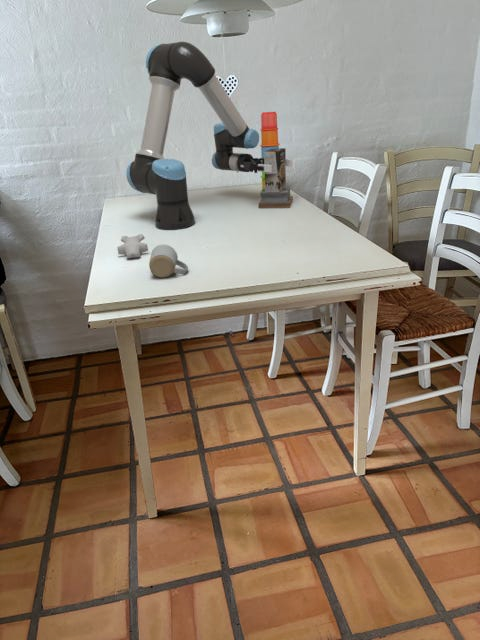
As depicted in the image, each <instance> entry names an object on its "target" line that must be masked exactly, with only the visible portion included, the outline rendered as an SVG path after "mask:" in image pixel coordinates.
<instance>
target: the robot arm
mask: <svg viewBox="0 0 480 640" xmlns="http://www.w3.org/2000/svg"><path fill="white" fill-rule="evenodd" d="M145 67H146V69H147V73H148V75H149V77H148V80H149V83H151V90H150V94H149V95H150V96H149V101H148V105H147V106H148V107H147V110H146V111H147V112H146V117H145V118H146V119H145V124H144V128H143V134H142V140H141V144H140V150H138V151H137V152H135V155H134V160H133V161H131V162H130V163H128V166H127V168H126V173H125V174H126V179H127V182H128V184H129V185H130V187H131V188H132V189H133V190H135V191H136V192H140V193H141V194H142V193H143V194H150V195H155V196H156V203H157V204H156V205H157V207H156V214H155V218H154V222H155V224H154V225H155V227H156V228H157V229H160V230H167V231H168V230H181V229H186V228H189V227H192V226H194V225H195V223H196V217H195V214H194V213H193V210H192V208H191V205H190V203H189V196H188V195H189V194H188V184H187V182H188V181H187V171H186V167H185V164H184V163H183V162H182V161H180V160H177V159H173V158H170V159H169V158H165V157H164V151H165V145H166V140H167V136H168V129H169V123H170V119H171V114H172V108H173V102H174V97H175V92H176V91H177V90H179V89H180V88H181V82H182V79H186V80H188V81H190V83H191V84H192V85H193V87H194V88H197V89H199V90H200V92H201V94H202V95H203V96H204V98H205V99H206V101H207V102H208V104H209V105H210V106H211V108H212V109H213V111H214V113H215V114H216V115H217V117H218V118H219V119H220V121H221V122H220V123H216V124H214V125H213V136H214V137H213V138H214V145H215V152H214V153H213V154H212V157H211V164H212V166H213V167H214V168H215V169H217V170H220V171H232V172H233V171H235V172H236V173H240V172H241V173H253V172H254V174H257V173H258V172H261V173H262V172H272V165H265V164H264V158H262V157H259V158H258V157H253V155H252V154H250V153H244V152H243V153H242V152H234V149H233V148H237V149H245V150H248V149H255V148H257V146H258V145H259V142H260V134H259V132H258V131H257V130H256V129H253V128H250V127H249V126H248V125H247V122H246V121H245V119H244V118H243V117H242V115H241V113H240V112H239V111H238V109H237V107H236V106H235V103H234V102H233V101H232V100H231V98H230V95H228V93H227V91H226V90H225V89H224V87H223V85H222V83H221V82H220V79H218V77H217V75H216V69H215V67H214V66H213V65H212V63H211V61H210V60H209V58H208V57H207V56H206V55H205V54H204V53H203V52H202V50H200V49H199V48H198V47H197V46H195V45H194V44H192V43H190V42H187V41H177V42H171V43H169V42H168V43H160V44H158V45H153V47H151V48H150V49H149V51H148V52H147V54H146V58H145ZM292 166H293V159H289V158H288V159H286V167H289V168H290V167H292Z"/></svg>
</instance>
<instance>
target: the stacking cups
mask: <svg viewBox="0 0 480 640" xmlns="http://www.w3.org/2000/svg"><path fill="white" fill-rule="evenodd" d="M277 114H278V113H277V111H266V112H264V111H263V112H261V115H260V123H261V124H260V125H261V126H260V127H261V128H260V129H259V130H260V136H261V138H260V140H261V142H260V143H261V144H260V151H261V153H260V154H261V158H264V151H267V150H270V149H277V148H279V147H280V143H279V133H278V132H279V127H278V115H277ZM260 178H261V190H260V193H261V192H262V191H263V189H264V188H265V172H261V175H260Z"/></svg>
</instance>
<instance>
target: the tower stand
mask: <svg viewBox="0 0 480 640" xmlns="http://www.w3.org/2000/svg"><path fill="white" fill-rule="evenodd" d="M293 198H294V196H293V195H291V186H286V188H285V189H283V190H282V191H280V192H265V188H264V189H263V191H262V192H261V191H260V200H259V202H258V204H257V205H258V207H257V208H258V209H290V208H291V206H292V203H293V200H294V199H293Z"/></svg>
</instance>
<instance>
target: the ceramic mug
mask: <svg viewBox="0 0 480 640" xmlns="http://www.w3.org/2000/svg"><path fill="white" fill-rule="evenodd" d="M178 258H179V257H178V253H177V251H176V250H175V248H173V247H172V246H170V245H168V244H159V245H156V246H155V247H154V248H153V249H152V250H151V253H150V258H149V263H148V267H149V270H150V272H151V273H152V274H153V275H154V276H155V277H157V278H161V279H162V278H167V277H170V276H171V275H172V274H173V273H175V274H178V275H186V274H187V273H188V270H189V266H188V264H186V263H185V262H183V260H182V261H181V260H179V259H178ZM176 266H179V267H180V268H179V267H176ZM181 268H182V269H181Z"/></svg>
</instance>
